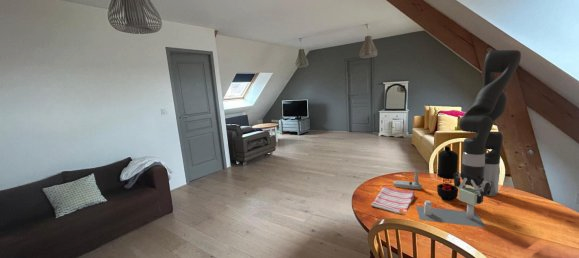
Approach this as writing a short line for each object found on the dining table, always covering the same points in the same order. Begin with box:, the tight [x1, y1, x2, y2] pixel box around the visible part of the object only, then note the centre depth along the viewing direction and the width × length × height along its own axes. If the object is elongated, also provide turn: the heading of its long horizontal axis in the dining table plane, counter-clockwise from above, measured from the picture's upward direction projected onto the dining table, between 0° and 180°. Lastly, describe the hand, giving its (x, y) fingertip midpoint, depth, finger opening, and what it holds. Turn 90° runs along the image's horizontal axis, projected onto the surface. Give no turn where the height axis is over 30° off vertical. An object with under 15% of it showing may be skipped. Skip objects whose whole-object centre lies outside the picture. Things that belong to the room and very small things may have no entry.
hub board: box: [415, 200, 488, 228], centre depth 105 cm, size 24×12×8 cm, turn 69°
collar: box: [458, 185, 478, 207], centre depth 101 cm, size 6×6×5 cm
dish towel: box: [370, 185, 415, 216], centre depth 124 cm, size 17×23×4 cm
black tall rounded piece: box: [436, 146, 459, 201], centre depth 118 cm, size 14×9×30 cm
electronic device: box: [392, 171, 423, 190], centre depth 139 cm, size 5×10×15 cm
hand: (470, 199), depth 101 cm, fingers closed on collar, 6 cm apart
